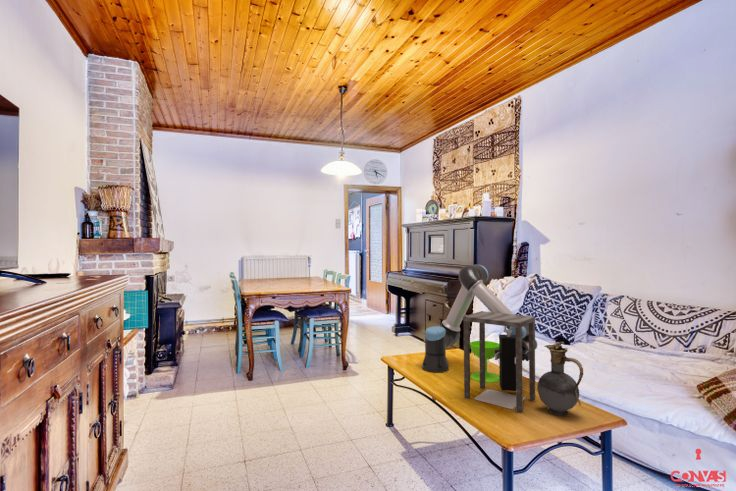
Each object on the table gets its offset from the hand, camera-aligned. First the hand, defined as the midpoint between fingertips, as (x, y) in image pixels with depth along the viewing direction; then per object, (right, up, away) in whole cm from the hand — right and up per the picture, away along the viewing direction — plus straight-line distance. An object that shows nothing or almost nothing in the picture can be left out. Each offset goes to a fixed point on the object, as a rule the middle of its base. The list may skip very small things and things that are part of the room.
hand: (505, 358), depth 182 cm
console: (-3, -18, -2) cm, 18 cm away
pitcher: (+17, -18, -19) cm, 31 cm away
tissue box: (+3, -15, +3) cm, 16 cm away
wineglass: (-1, -18, +28) cm, 33 cm away
